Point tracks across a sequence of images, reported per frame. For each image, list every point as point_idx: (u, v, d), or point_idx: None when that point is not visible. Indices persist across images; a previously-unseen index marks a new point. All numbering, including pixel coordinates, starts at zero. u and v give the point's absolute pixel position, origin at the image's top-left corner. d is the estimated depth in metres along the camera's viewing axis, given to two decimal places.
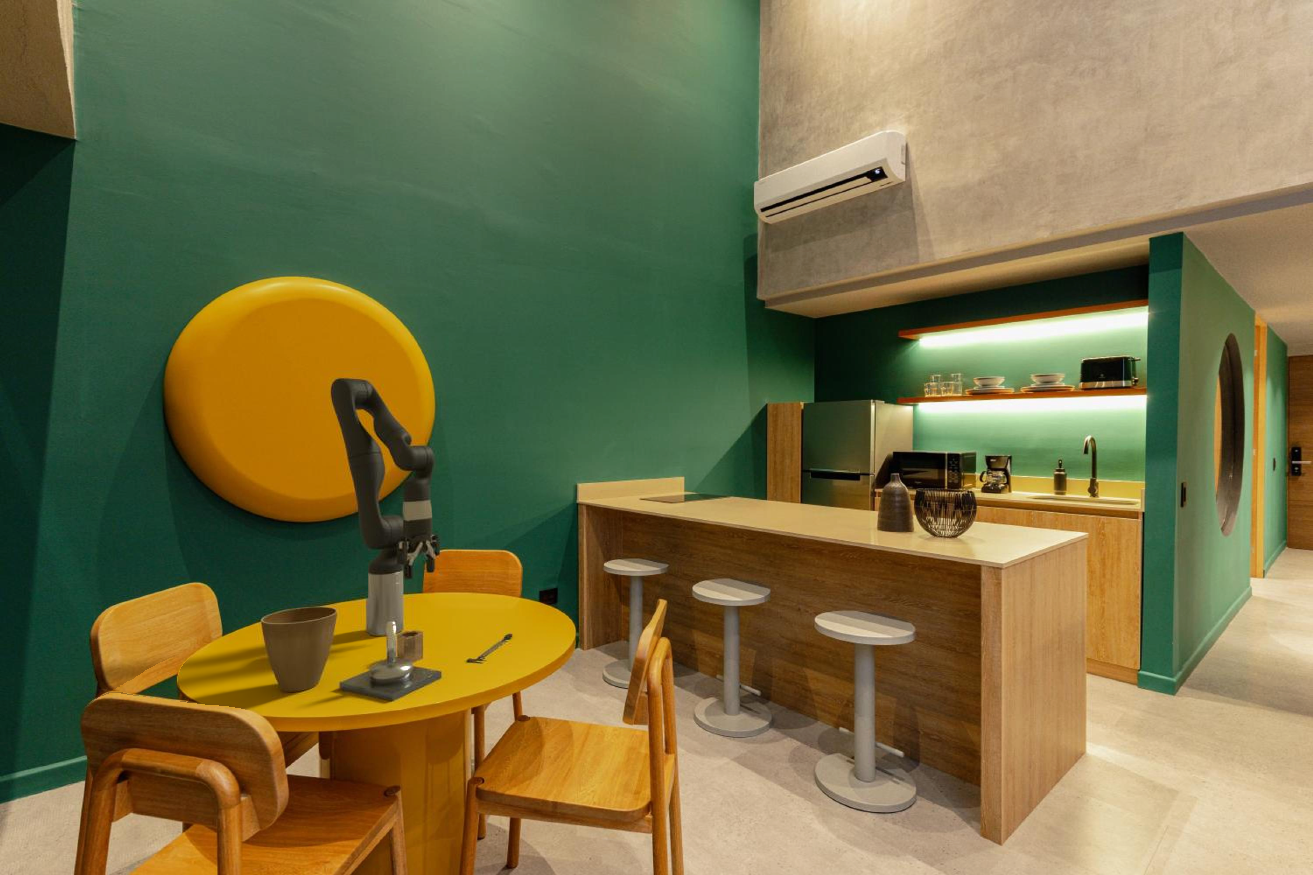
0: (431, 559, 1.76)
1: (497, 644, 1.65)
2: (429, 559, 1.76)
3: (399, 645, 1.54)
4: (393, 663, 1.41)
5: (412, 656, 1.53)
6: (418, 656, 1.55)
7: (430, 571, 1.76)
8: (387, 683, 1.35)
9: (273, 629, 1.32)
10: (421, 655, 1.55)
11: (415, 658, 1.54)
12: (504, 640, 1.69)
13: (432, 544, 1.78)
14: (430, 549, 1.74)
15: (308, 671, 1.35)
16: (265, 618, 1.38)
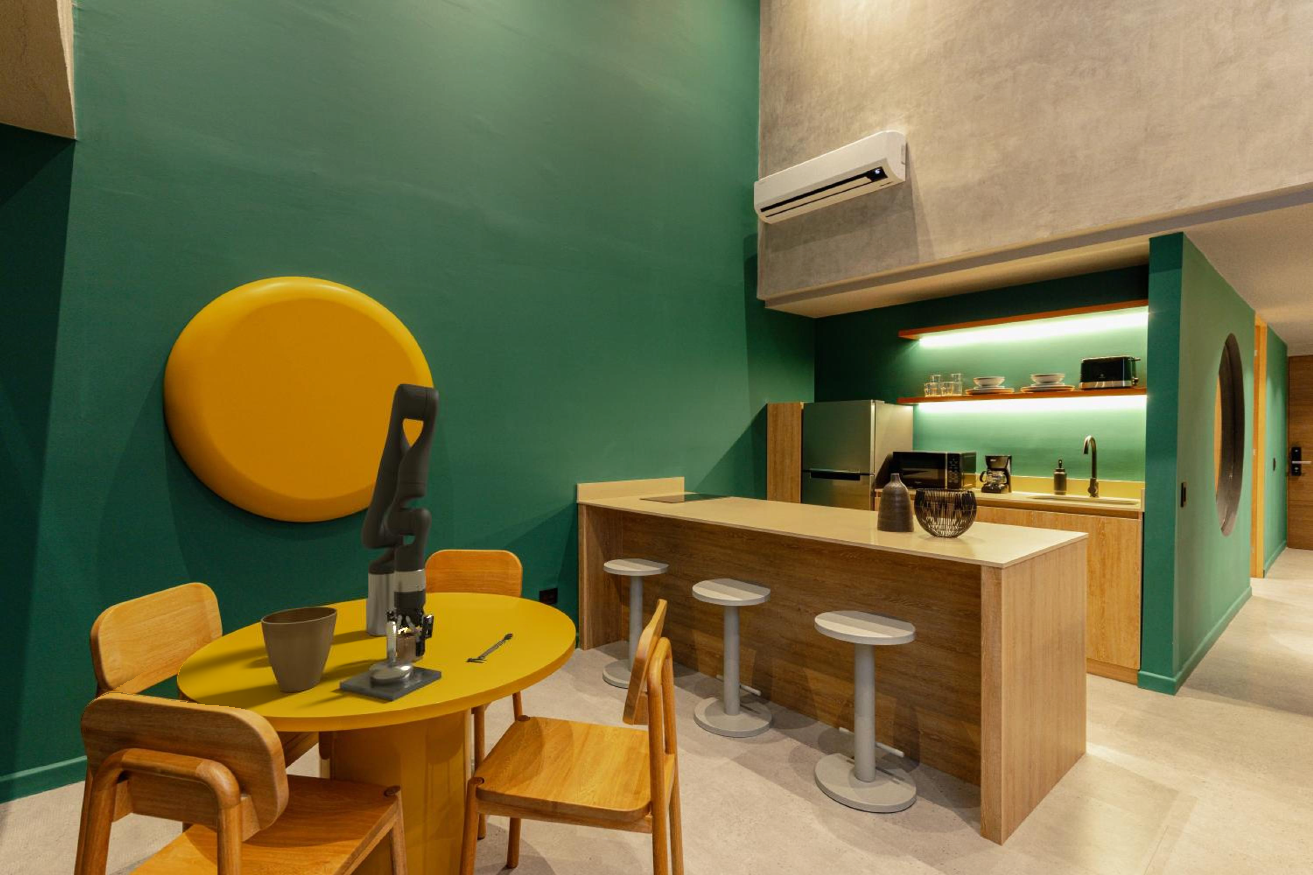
0: None
1: (497, 644, 1.65)
2: None
3: (399, 645, 1.54)
4: (393, 663, 1.41)
5: (412, 656, 1.53)
6: None
7: None
8: (387, 683, 1.35)
9: (273, 629, 1.32)
10: None
11: (415, 658, 1.54)
12: (504, 640, 1.69)
13: (394, 620, 1.58)
14: None
15: (308, 671, 1.35)
16: (265, 618, 1.38)
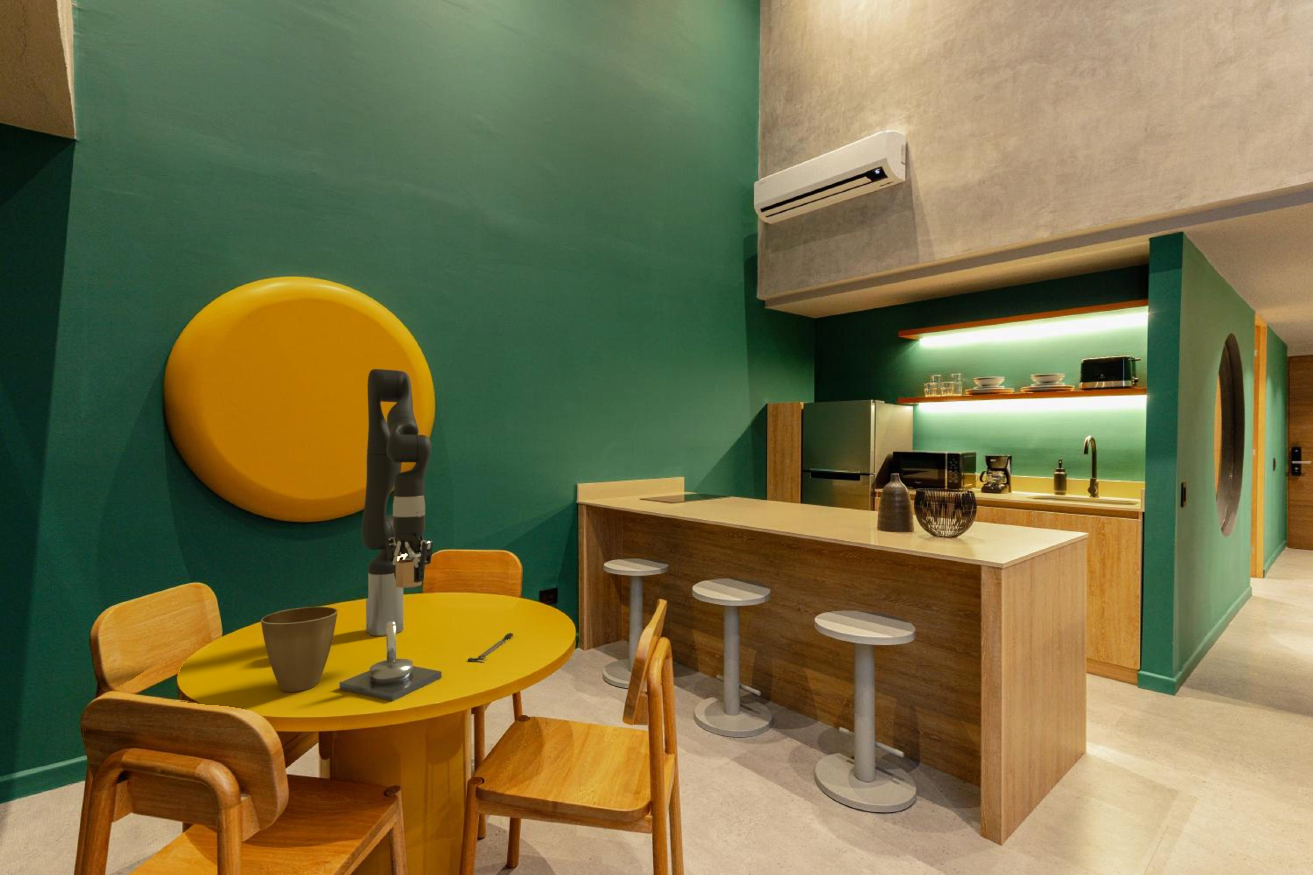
0: None
1: (498, 643, 1.65)
2: None
3: (398, 570, 1.54)
4: (393, 663, 1.41)
5: (411, 581, 1.54)
6: None
7: None
8: (387, 683, 1.35)
9: (273, 629, 1.32)
10: None
11: (414, 584, 1.54)
12: (505, 639, 1.69)
13: (393, 548, 1.58)
14: None
15: (308, 671, 1.35)
16: (265, 618, 1.38)
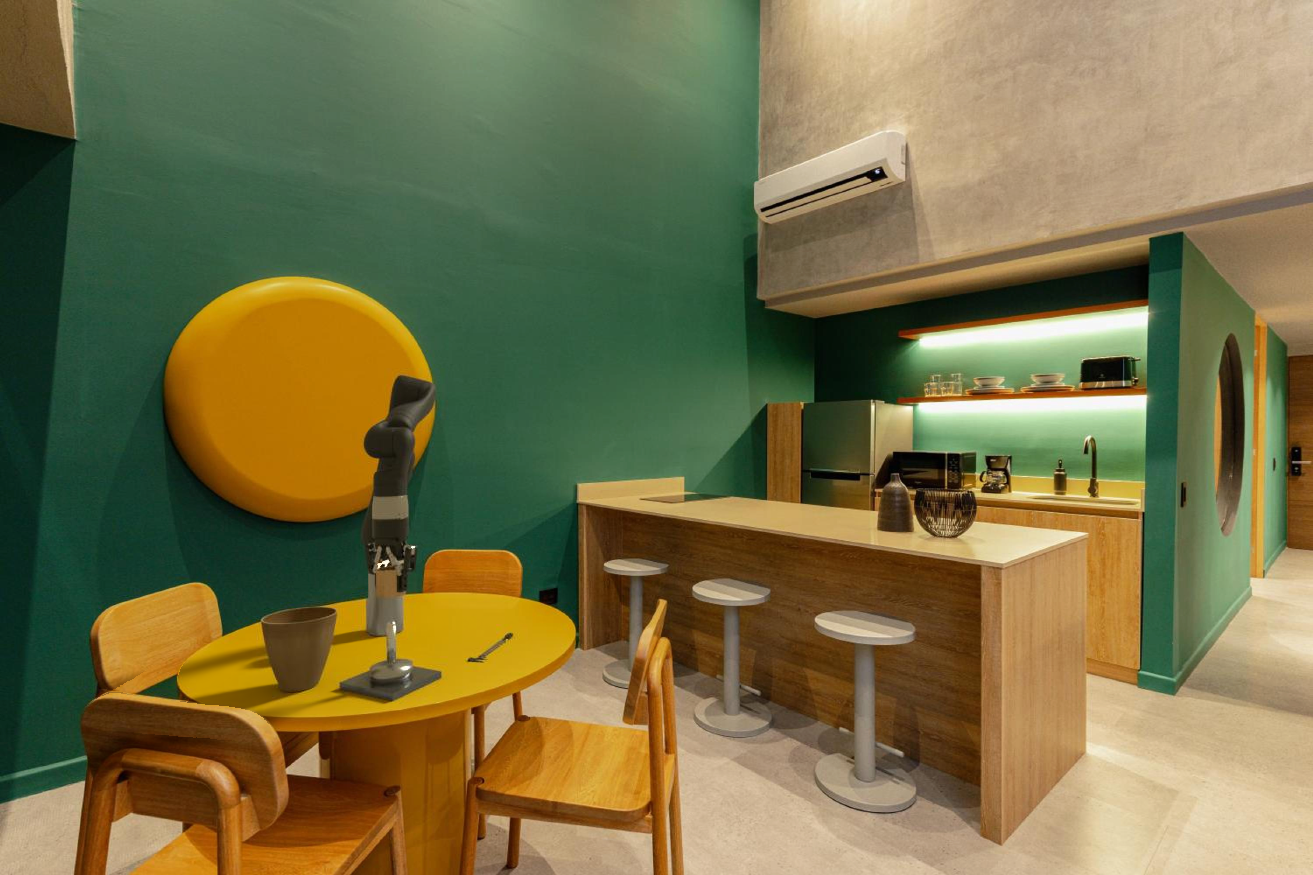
0: None
1: (498, 643, 1.65)
2: None
3: (378, 579, 1.37)
4: (393, 663, 1.41)
5: (393, 591, 1.37)
6: (400, 592, 1.38)
7: None
8: (387, 683, 1.35)
9: (273, 629, 1.32)
10: None
11: (396, 594, 1.38)
12: (505, 639, 1.69)
13: (373, 554, 1.42)
14: None
15: (308, 671, 1.35)
16: (265, 618, 1.38)
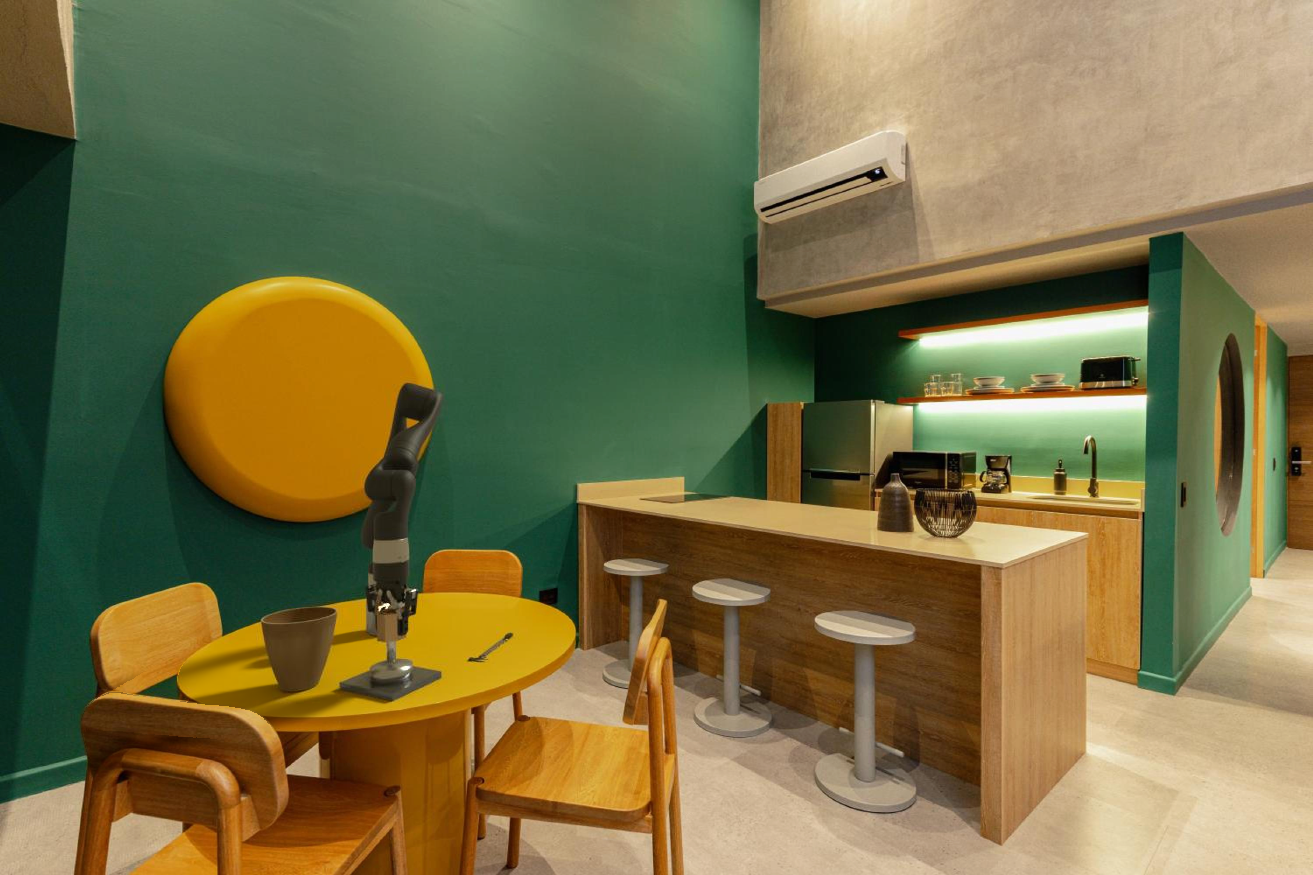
0: None
1: (498, 643, 1.66)
2: None
3: (379, 623, 1.37)
4: (393, 663, 1.41)
5: (394, 635, 1.37)
6: None
7: None
8: (387, 683, 1.35)
9: (273, 629, 1.32)
10: None
11: (397, 637, 1.37)
12: (505, 639, 1.70)
13: (374, 596, 1.42)
14: None
15: (308, 671, 1.35)
16: (265, 618, 1.38)
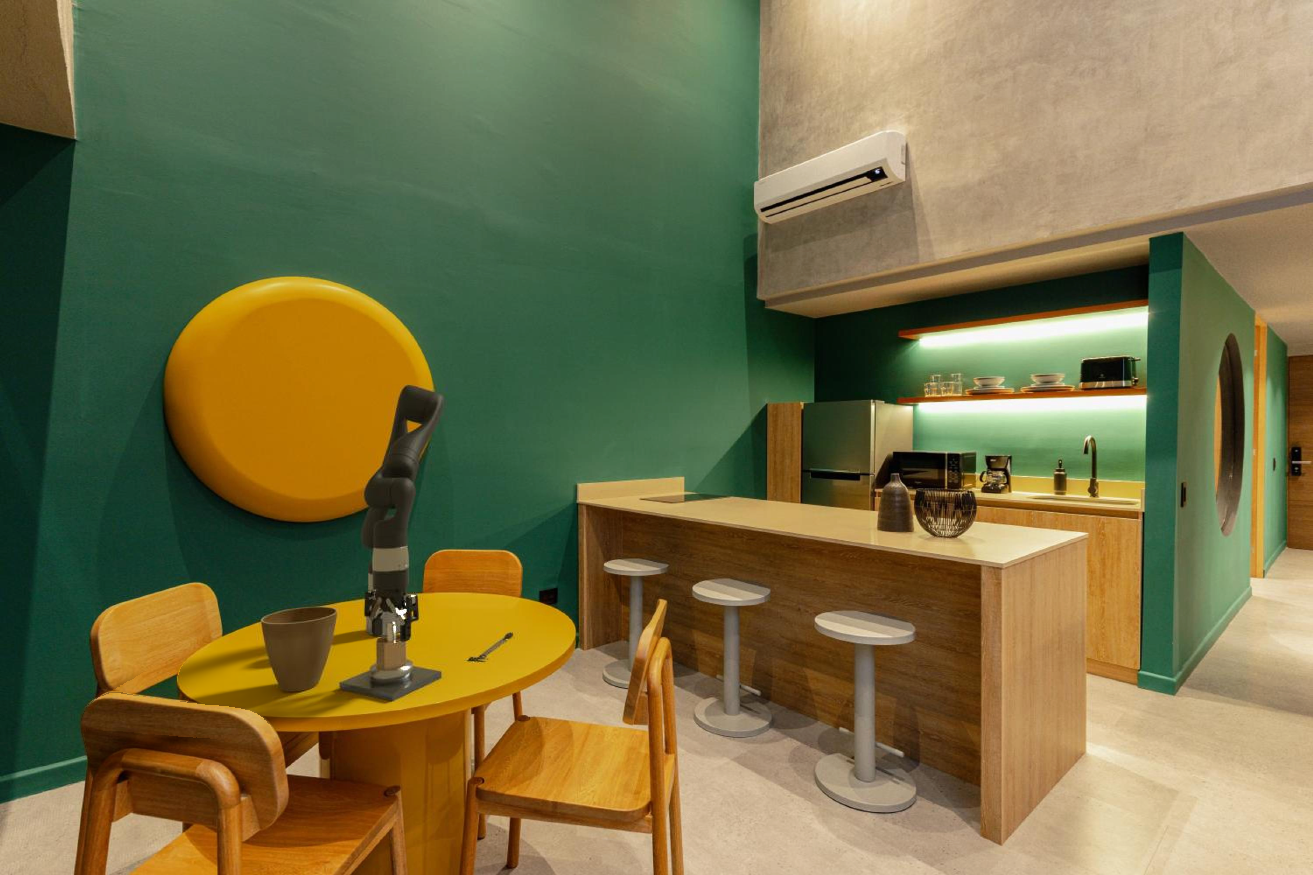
0: (380, 619, 1.42)
1: (498, 643, 1.66)
2: (378, 619, 1.41)
3: (379, 651, 1.37)
4: None
5: (393, 663, 1.37)
6: (400, 663, 1.38)
7: (379, 634, 1.42)
8: (387, 683, 1.35)
9: (273, 629, 1.32)
10: (403, 662, 1.39)
11: (396, 665, 1.37)
12: (505, 639, 1.70)
13: (372, 601, 1.42)
14: None
15: (308, 671, 1.35)
16: (265, 618, 1.38)
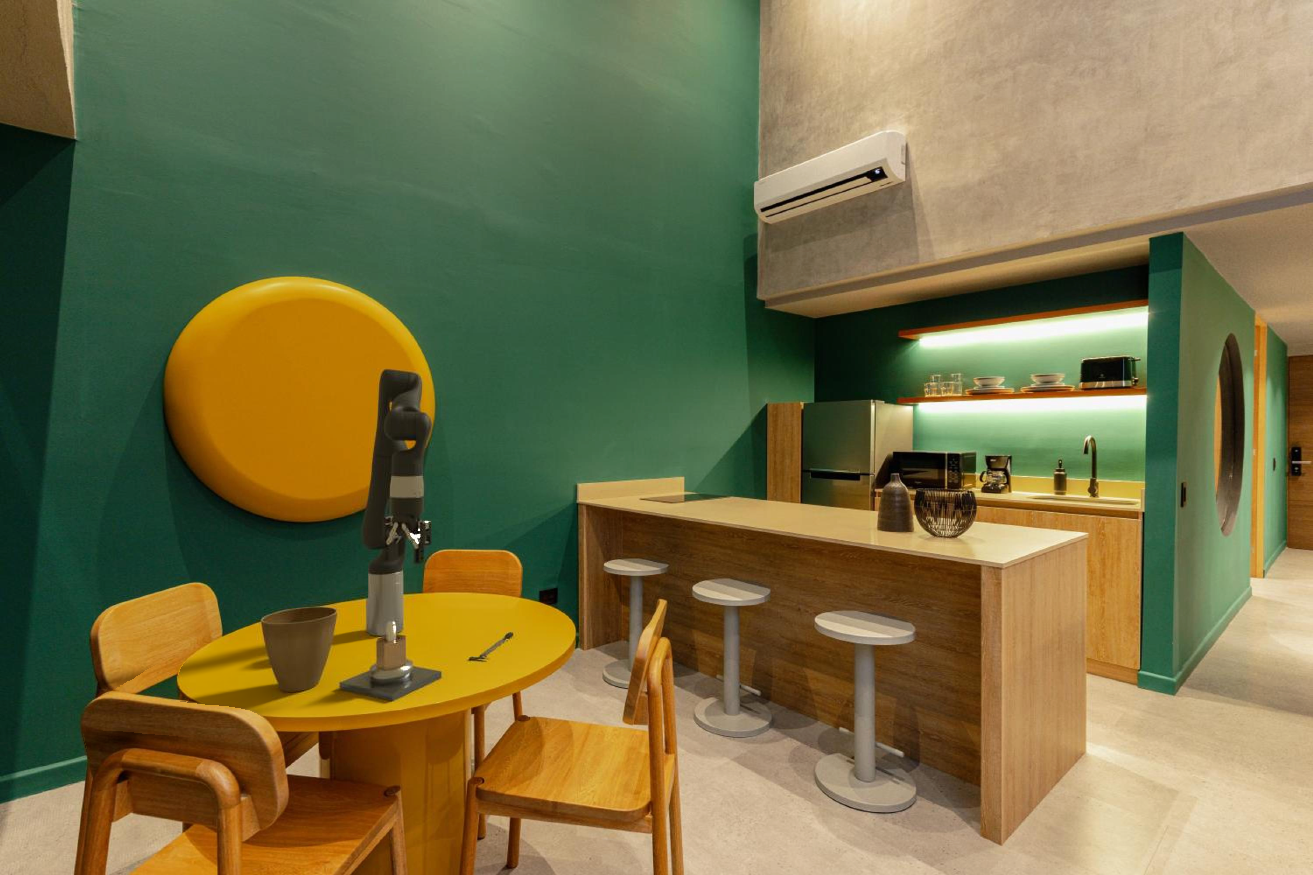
0: (396, 544, 1.52)
1: (498, 642, 1.66)
2: (394, 544, 1.51)
3: (379, 651, 1.37)
4: None
5: (393, 663, 1.37)
6: (400, 663, 1.38)
7: (395, 558, 1.52)
8: (387, 683, 1.35)
9: (273, 629, 1.32)
10: (403, 662, 1.39)
11: (396, 665, 1.37)
12: (505, 638, 1.70)
13: (389, 527, 1.52)
14: None
15: (308, 671, 1.35)
16: (265, 618, 1.38)
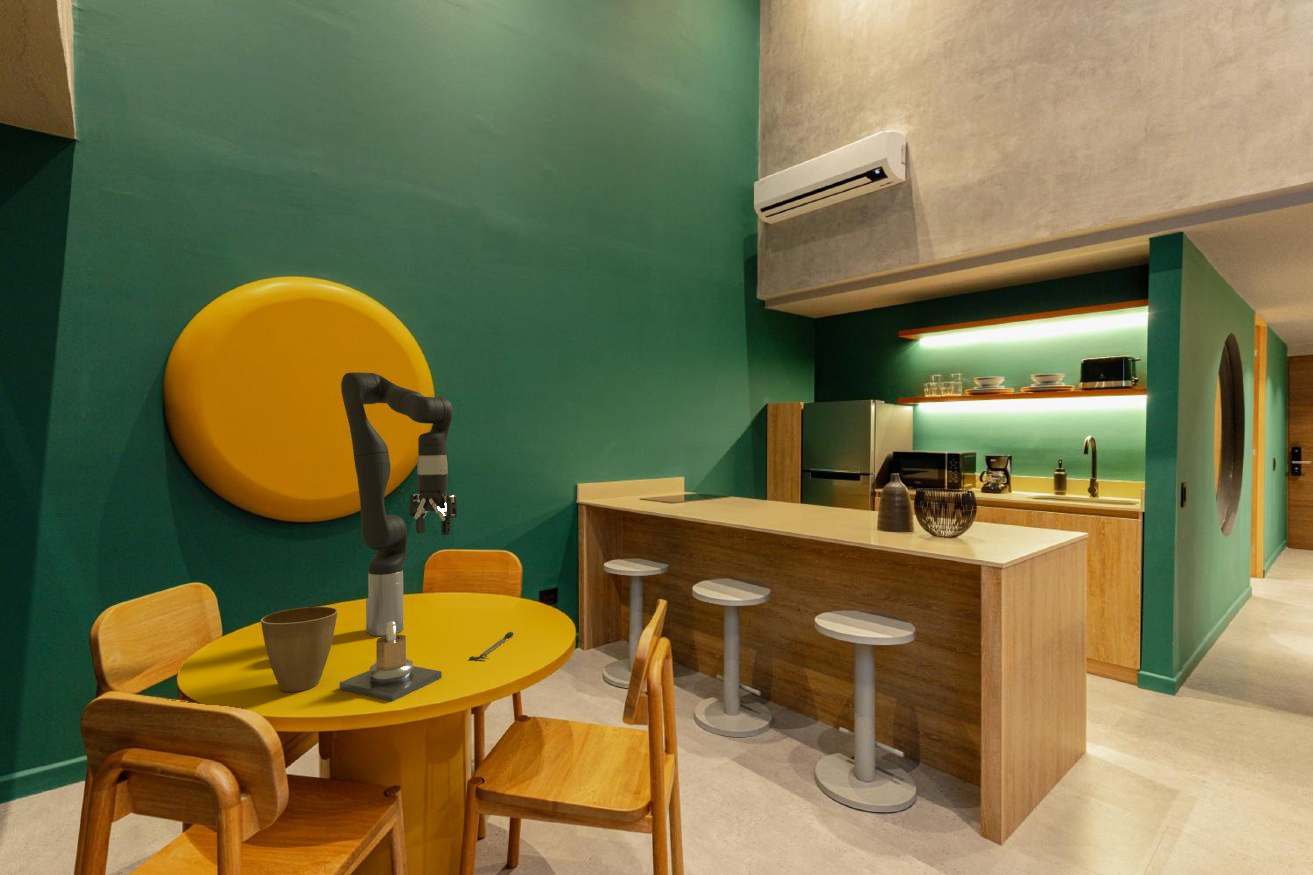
0: None
1: (498, 642, 1.66)
2: (421, 519, 1.65)
3: (379, 651, 1.37)
4: None
5: (393, 663, 1.37)
6: (400, 663, 1.38)
7: (422, 531, 1.66)
8: (387, 683, 1.35)
9: (273, 629, 1.32)
10: (403, 662, 1.39)
11: (396, 665, 1.37)
12: (505, 638, 1.70)
13: (416, 504, 1.66)
14: None
15: (308, 671, 1.35)
16: (265, 618, 1.38)
